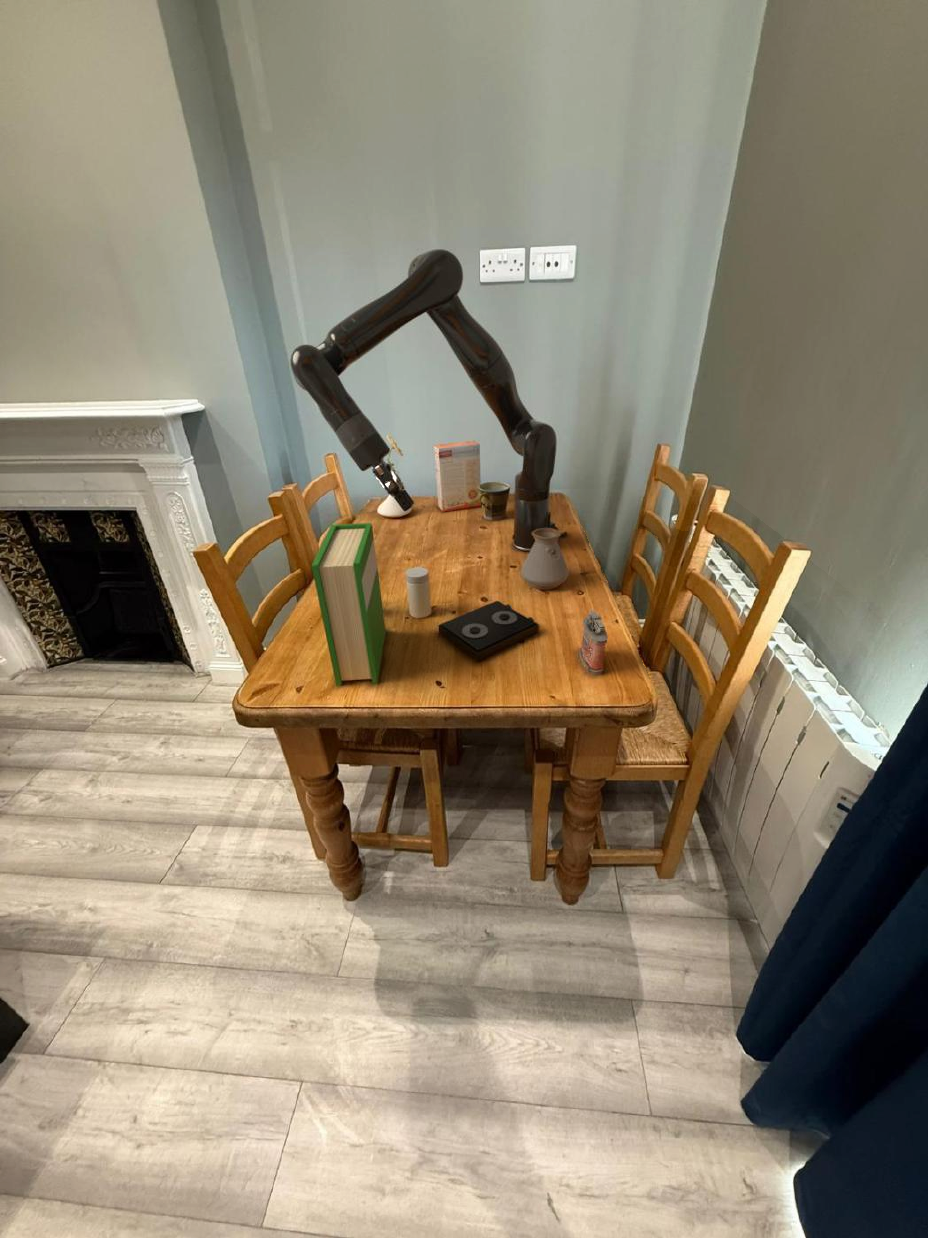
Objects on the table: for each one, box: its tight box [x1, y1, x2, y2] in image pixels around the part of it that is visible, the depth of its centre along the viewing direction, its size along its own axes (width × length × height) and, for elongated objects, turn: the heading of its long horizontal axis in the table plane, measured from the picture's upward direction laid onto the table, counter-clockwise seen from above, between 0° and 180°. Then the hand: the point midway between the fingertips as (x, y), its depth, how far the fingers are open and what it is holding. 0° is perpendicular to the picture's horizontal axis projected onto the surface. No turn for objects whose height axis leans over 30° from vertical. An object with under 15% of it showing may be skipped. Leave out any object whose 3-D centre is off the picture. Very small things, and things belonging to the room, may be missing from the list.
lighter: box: [579, 610, 608, 676], centre depth 92 cm, size 8×3×10 cm, turn 5°
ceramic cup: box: [478, 481, 511, 521], centre depth 159 cm, size 13×10×10 cm
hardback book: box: [311, 522, 387, 687], centre depth 92 cm, size 18×7×24 cm, turn 3°
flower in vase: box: [376, 434, 413, 518], centre depth 162 cm, size 13×11×25 cm
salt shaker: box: [405, 566, 433, 619], centre depth 110 cm, size 5×5×10 cm
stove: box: [437, 600, 539, 663], centre depth 104 cm, size 17×13×3 cm
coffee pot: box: [520, 528, 570, 590], centre depth 115 cm, size 21×12×15 cm, turn 177°
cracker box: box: [433, 440, 482, 512], centre depth 167 cm, size 14×6×21 cm, turn 108°
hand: (409, 507), depth 108 cm, fingers open, 8 cm apart
